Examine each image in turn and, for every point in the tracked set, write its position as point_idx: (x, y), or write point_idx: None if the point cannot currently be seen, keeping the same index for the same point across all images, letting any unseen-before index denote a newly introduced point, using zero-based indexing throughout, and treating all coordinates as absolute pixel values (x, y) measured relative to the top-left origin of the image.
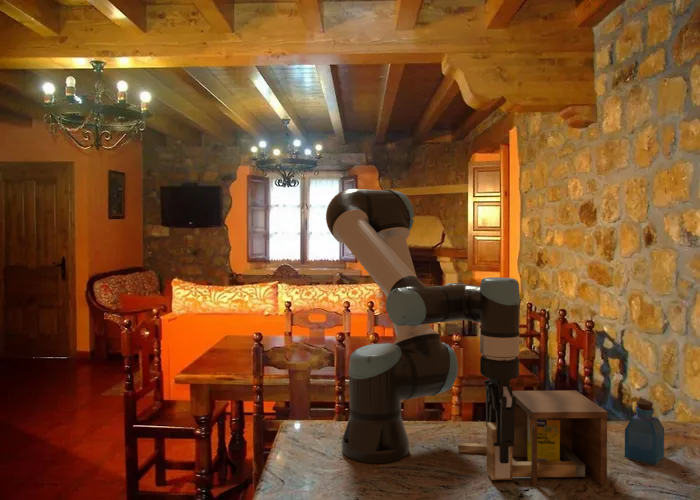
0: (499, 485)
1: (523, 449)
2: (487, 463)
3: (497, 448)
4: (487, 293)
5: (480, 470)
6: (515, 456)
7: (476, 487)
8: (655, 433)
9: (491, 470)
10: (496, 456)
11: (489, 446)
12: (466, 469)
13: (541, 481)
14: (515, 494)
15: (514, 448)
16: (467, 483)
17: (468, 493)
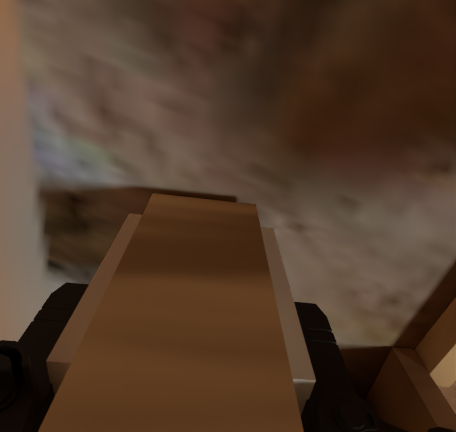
0: (131, 211)
1: (388, 406)
2: (242, 225)
3: (62, 344)
4: None
5: (306, 185)
6: (386, 358)
7: (109, 91)
8: None
9: (150, 214)
10: (86, 290)
11: (187, 305)
12: (339, 117)
13: None
14: (42, 242)
15: (405, 386)
16: (162, 56)
17: (28, 11)
